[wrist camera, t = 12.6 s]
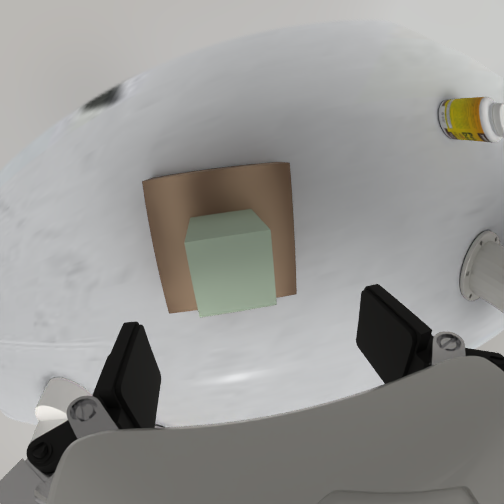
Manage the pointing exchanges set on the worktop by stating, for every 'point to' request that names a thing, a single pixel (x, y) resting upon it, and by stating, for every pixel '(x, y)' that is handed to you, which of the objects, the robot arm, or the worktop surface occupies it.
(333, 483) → the robot arm
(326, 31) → the worktop surface
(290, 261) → the walnut base
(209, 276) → the sage block
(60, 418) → the base with upright slab
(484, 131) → the supplement bottle
